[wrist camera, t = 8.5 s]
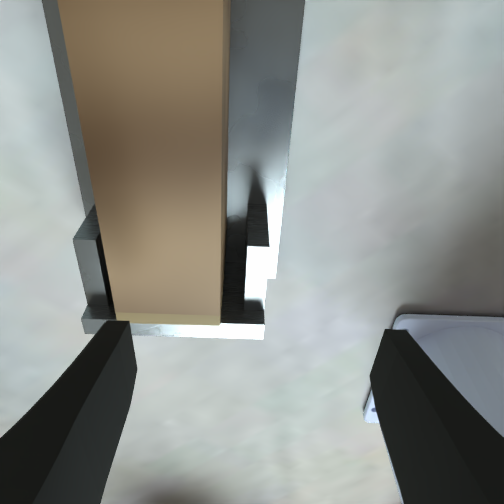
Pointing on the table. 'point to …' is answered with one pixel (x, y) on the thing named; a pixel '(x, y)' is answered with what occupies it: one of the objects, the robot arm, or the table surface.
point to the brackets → (239, 168)
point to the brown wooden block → (156, 148)
